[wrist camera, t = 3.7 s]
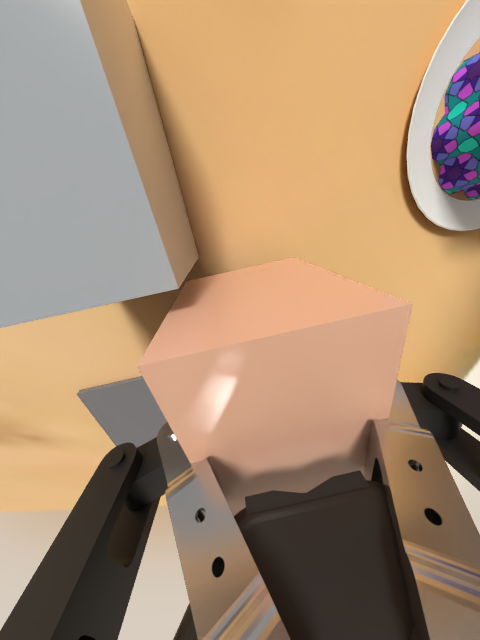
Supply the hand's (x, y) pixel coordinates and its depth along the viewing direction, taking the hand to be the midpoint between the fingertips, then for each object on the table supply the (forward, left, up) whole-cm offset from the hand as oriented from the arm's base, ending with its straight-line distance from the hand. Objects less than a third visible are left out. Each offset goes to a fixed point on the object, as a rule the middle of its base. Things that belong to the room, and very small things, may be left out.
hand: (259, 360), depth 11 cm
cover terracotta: (0, 0, -2) cm, 2 cm away
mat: (+9, +8, -4) cm, 13 cm away
